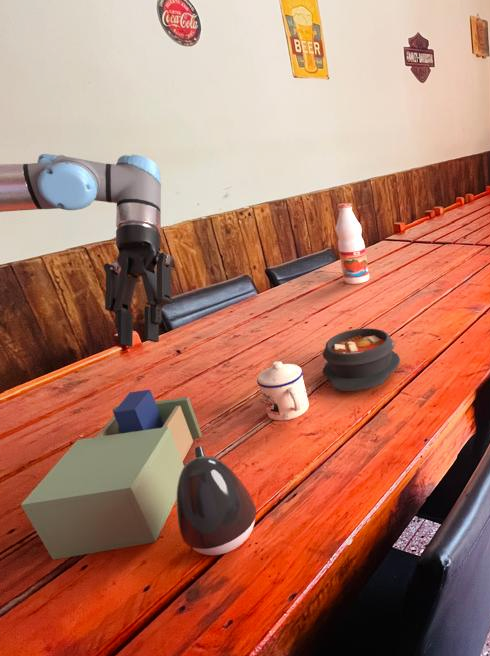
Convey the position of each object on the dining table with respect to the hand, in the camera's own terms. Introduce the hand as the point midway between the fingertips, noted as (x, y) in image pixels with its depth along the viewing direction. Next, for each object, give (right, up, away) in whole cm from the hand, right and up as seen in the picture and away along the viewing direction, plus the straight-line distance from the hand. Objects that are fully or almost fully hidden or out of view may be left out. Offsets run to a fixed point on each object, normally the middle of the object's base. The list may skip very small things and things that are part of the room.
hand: (138, 342), depth 98 cm
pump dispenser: (+27, -31, -20) cm, 46 cm away
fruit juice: (+20, +25, +93) cm, 98 cm away
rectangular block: (+5, -21, -3) cm, 21 cm away
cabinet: (+8, -29, -14) cm, 33 cm away
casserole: (+37, -7, +27) cm, 46 cm away
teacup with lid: (+25, -15, +12) cm, 32 cm away
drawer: (+5, -21, -2) cm, 22 cm away
